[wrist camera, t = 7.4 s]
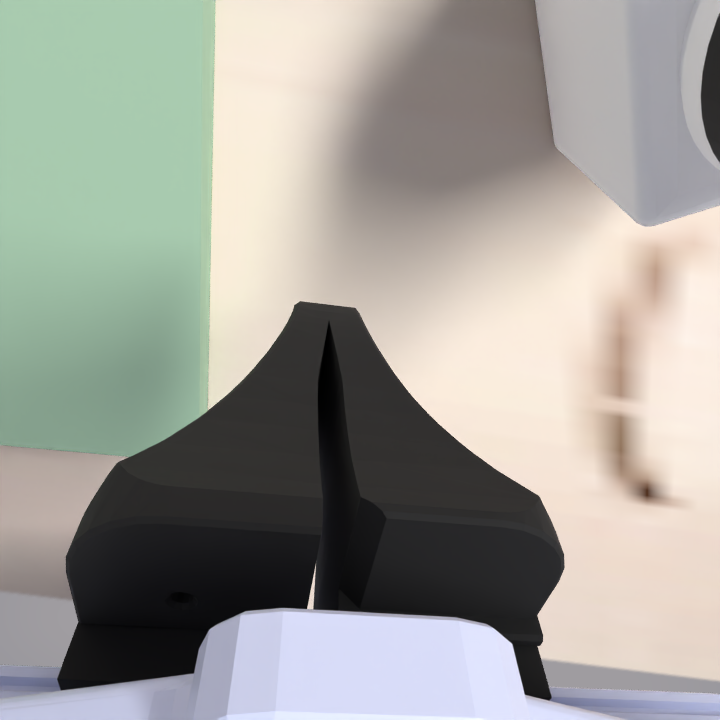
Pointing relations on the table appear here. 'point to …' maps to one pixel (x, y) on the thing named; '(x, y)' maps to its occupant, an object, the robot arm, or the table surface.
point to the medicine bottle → (637, 99)
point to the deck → (104, 221)
